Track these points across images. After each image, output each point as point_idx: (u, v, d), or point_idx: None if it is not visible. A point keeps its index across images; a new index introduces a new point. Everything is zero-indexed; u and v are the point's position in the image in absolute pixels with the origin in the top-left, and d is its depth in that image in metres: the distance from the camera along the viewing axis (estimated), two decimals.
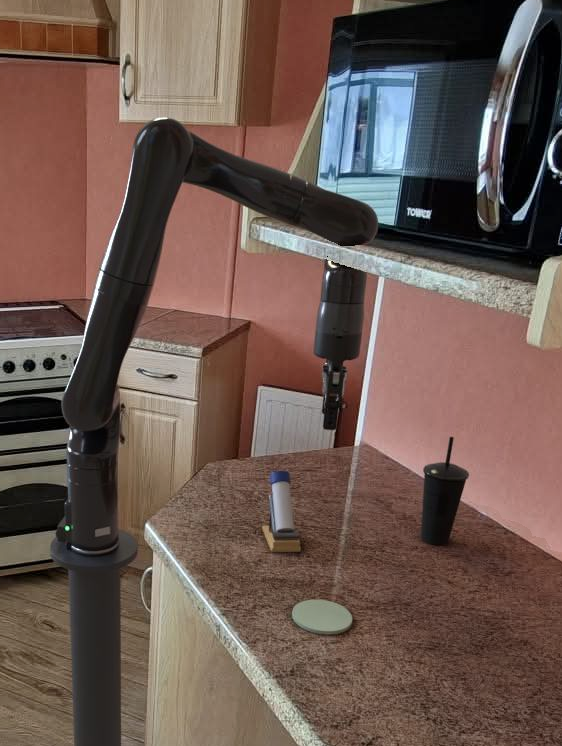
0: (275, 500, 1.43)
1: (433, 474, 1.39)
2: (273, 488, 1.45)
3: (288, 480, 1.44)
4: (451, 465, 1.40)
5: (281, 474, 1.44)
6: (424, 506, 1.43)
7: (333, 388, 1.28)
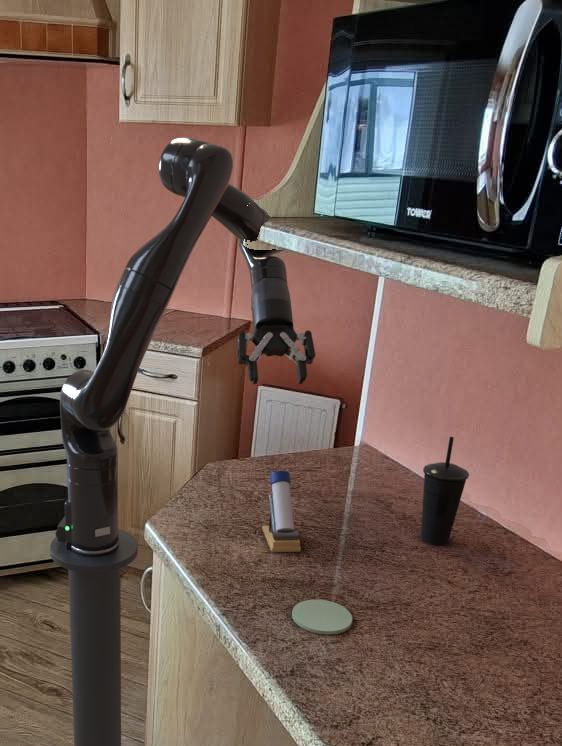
0: (275, 500, 1.43)
1: (433, 474, 1.39)
2: (273, 488, 1.45)
3: (288, 480, 1.44)
4: (451, 465, 1.40)
5: (281, 474, 1.44)
6: (424, 506, 1.43)
7: None
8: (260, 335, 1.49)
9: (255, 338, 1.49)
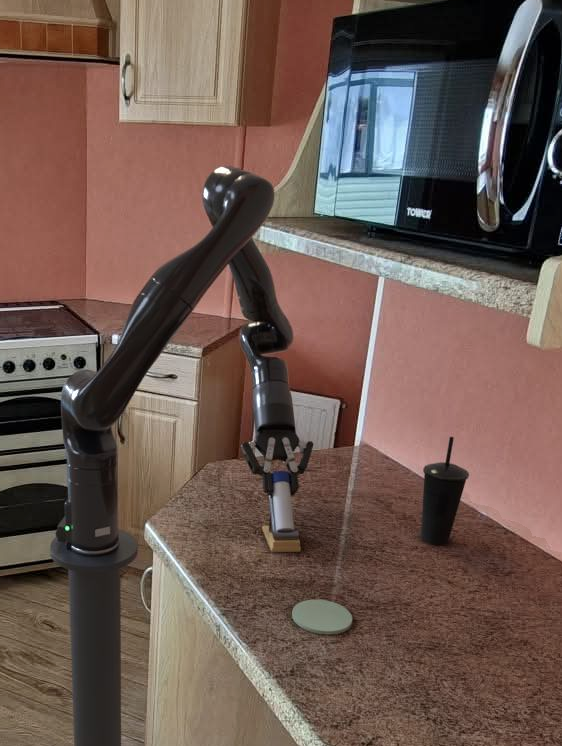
0: (275, 500, 1.43)
1: (433, 474, 1.39)
2: (273, 488, 1.45)
3: (288, 480, 1.44)
4: (451, 465, 1.40)
5: (281, 474, 1.44)
6: (424, 506, 1.43)
7: None
8: (263, 439, 1.48)
9: (257, 443, 1.48)
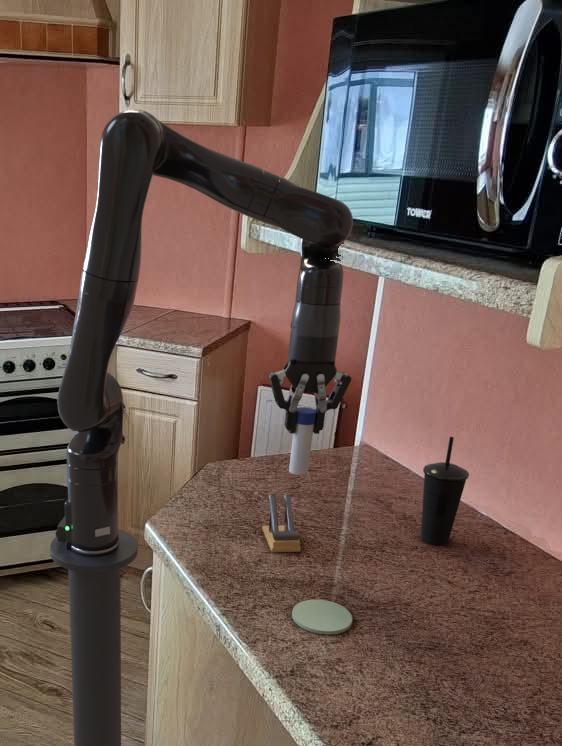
0: (294, 442, 1.33)
1: (433, 474, 1.39)
2: (295, 428, 1.32)
3: (313, 422, 1.31)
4: (451, 465, 1.40)
5: (307, 417, 1.30)
6: (424, 506, 1.43)
7: None
8: (295, 372, 1.28)
9: (288, 376, 1.28)
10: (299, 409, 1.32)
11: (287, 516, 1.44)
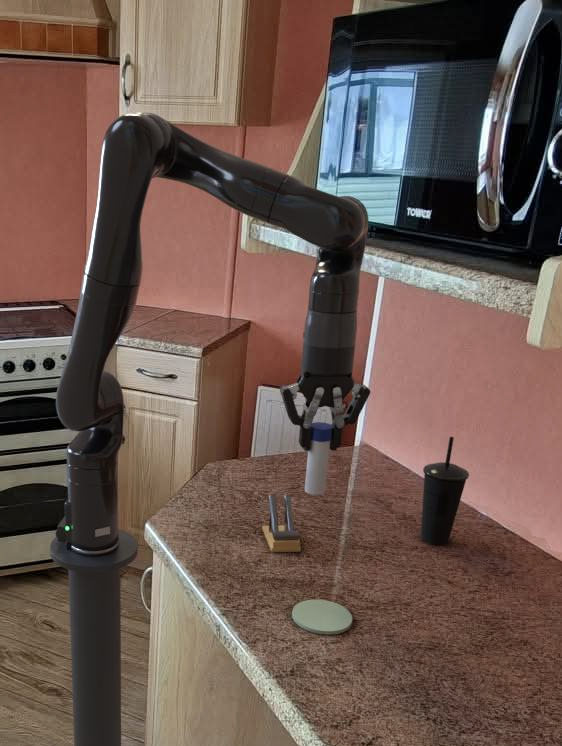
0: (310, 460, 1.23)
1: (433, 474, 1.39)
2: (310, 444, 1.23)
3: (330, 439, 1.22)
4: (451, 465, 1.40)
5: (323, 434, 1.21)
6: (424, 506, 1.43)
7: None
8: (309, 386, 1.18)
9: (301, 390, 1.19)
10: (314, 424, 1.22)
11: (287, 516, 1.44)
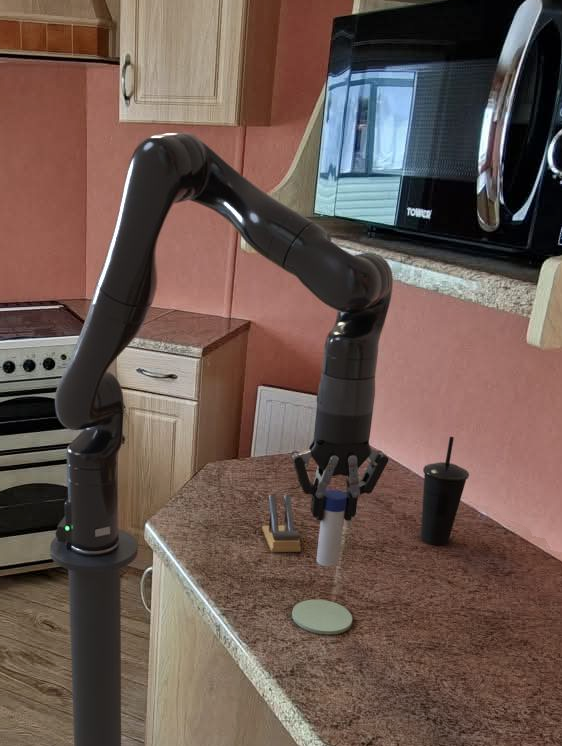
0: (323, 530, 1.15)
1: (433, 474, 1.39)
2: (323, 514, 1.14)
3: (344, 509, 1.13)
4: (451, 465, 1.40)
5: (337, 504, 1.12)
6: (424, 506, 1.43)
7: None
8: (322, 454, 1.10)
9: (314, 457, 1.10)
10: (327, 493, 1.14)
11: (287, 516, 1.44)
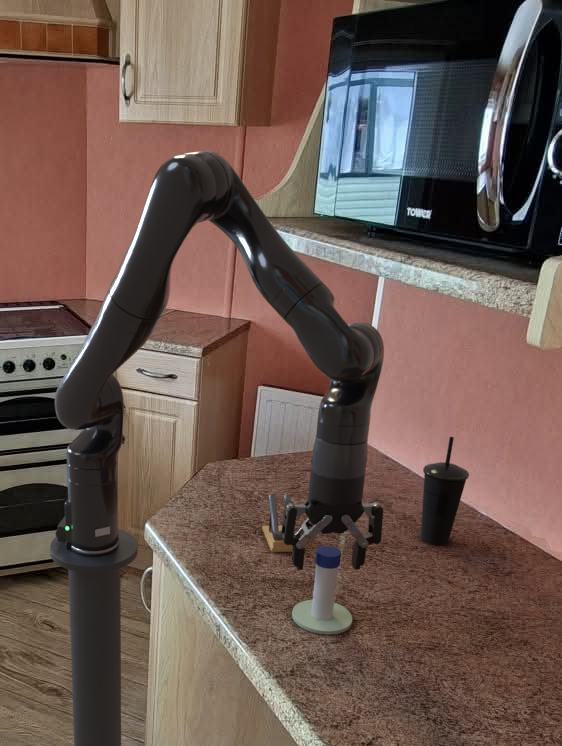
0: (317, 585, 1.18)
1: (433, 474, 1.39)
2: (317, 570, 1.18)
3: (338, 565, 1.17)
4: (451, 465, 1.40)
5: (331, 561, 1.16)
6: (424, 506, 1.43)
7: None
8: (316, 514, 1.13)
9: (308, 516, 1.14)
10: (321, 549, 1.18)
11: None
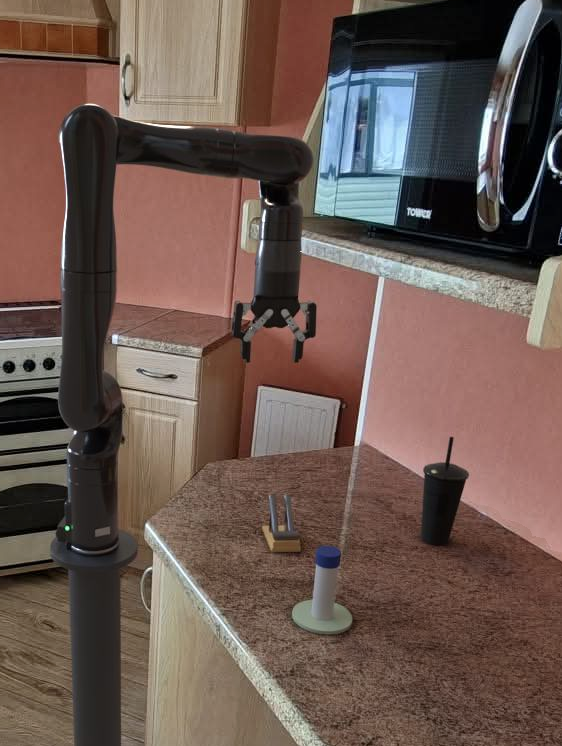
0: (317, 585, 1.18)
1: (433, 474, 1.39)
2: (317, 570, 1.18)
3: (338, 565, 1.17)
4: (451, 465, 1.40)
5: (331, 561, 1.16)
6: (424, 506, 1.43)
7: None
8: (259, 309, 1.34)
9: (253, 312, 1.34)
10: (321, 549, 1.18)
11: (287, 516, 1.44)
